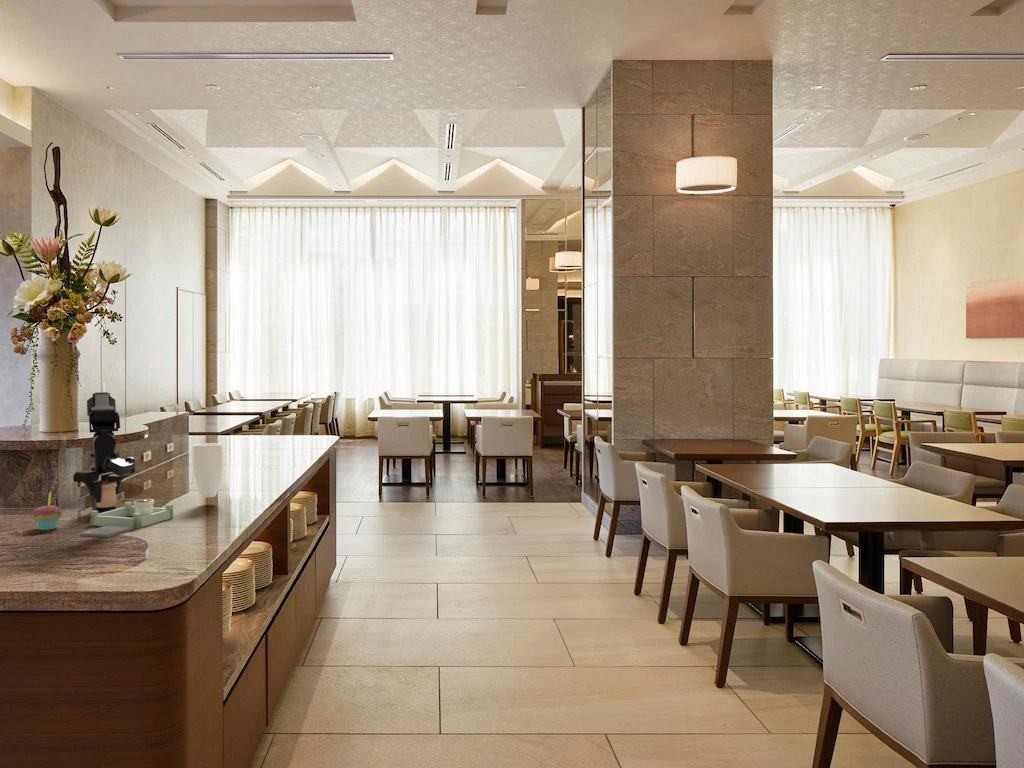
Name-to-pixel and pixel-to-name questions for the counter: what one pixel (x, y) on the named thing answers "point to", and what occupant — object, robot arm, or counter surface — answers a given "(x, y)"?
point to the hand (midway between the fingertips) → (106, 500)
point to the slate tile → (106, 531)
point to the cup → (208, 467)
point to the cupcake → (46, 516)
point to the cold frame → (120, 519)
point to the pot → (144, 506)
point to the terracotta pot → (108, 494)
